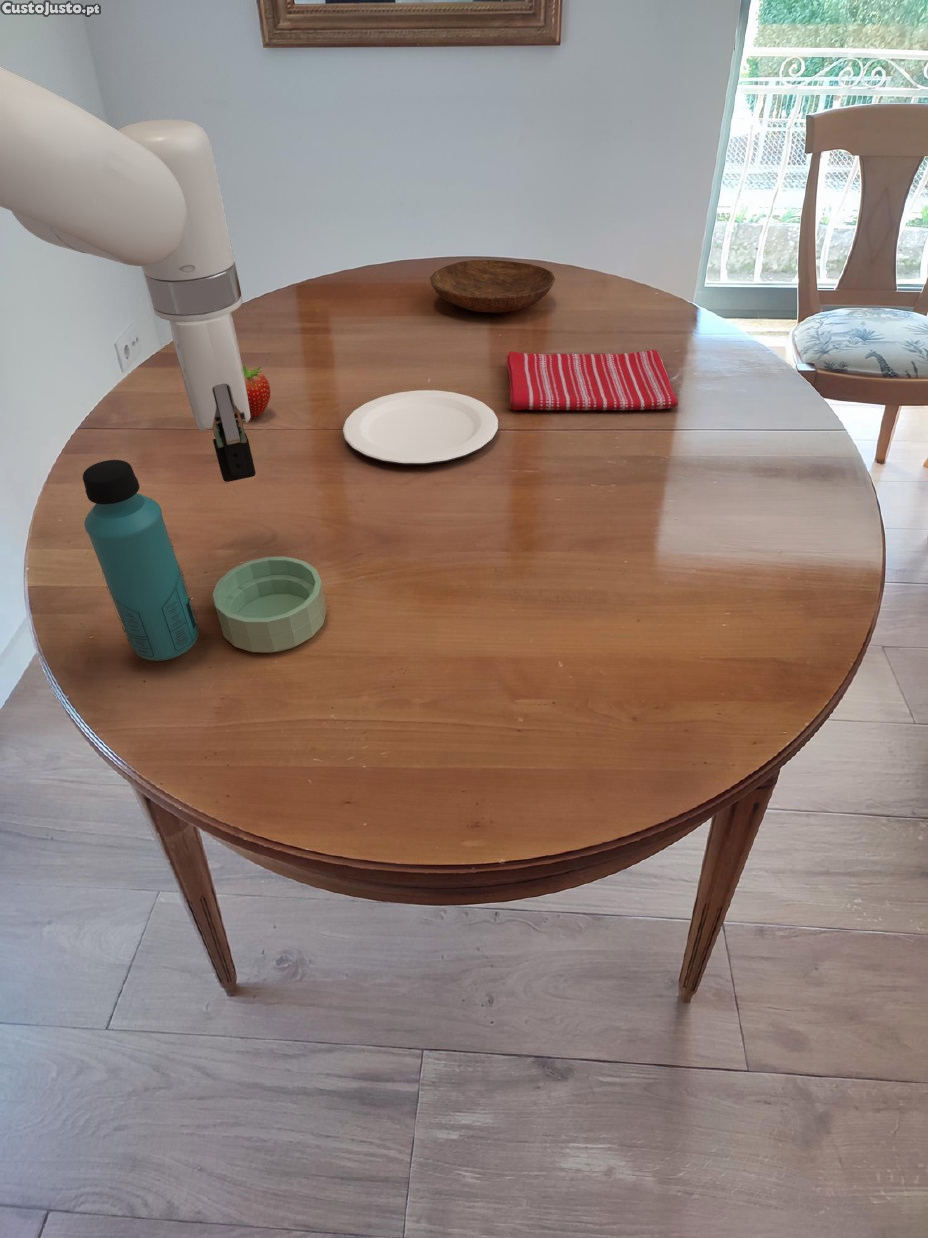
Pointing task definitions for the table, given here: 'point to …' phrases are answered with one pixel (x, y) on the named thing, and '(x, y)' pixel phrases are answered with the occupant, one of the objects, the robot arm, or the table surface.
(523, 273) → the bowl
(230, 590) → the celadon bowl
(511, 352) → the dish towel
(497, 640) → the table surface
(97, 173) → the robot arm
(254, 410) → the fruit
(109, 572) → the beverage bottle
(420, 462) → the plate
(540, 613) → the table surface
